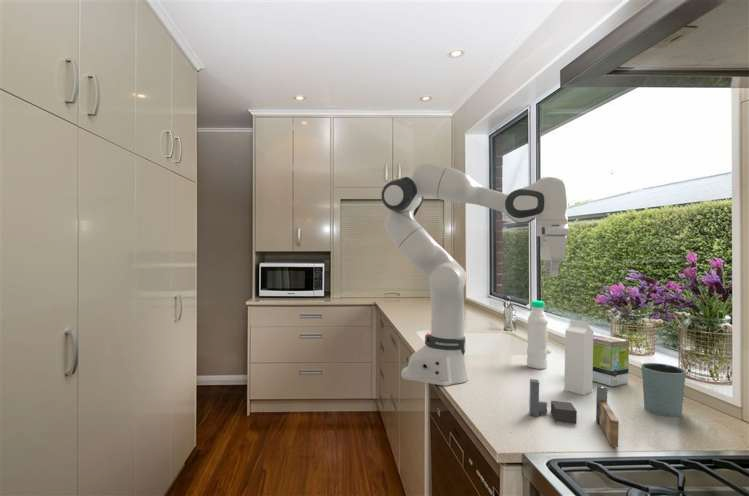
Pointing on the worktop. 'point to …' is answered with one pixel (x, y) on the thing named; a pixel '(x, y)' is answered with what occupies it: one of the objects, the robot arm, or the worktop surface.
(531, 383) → the post
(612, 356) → the tea box
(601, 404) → the gate
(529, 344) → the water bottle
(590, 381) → the milk
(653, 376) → the grey green cup
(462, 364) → the robot arm
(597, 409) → the hinge post
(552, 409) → the block
